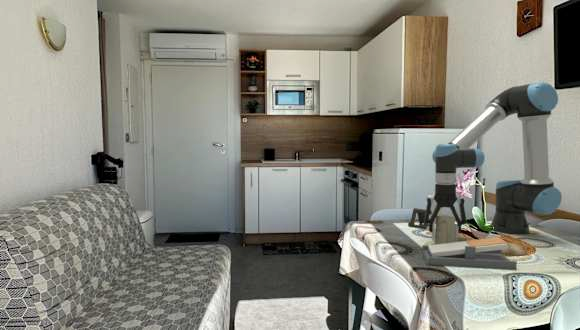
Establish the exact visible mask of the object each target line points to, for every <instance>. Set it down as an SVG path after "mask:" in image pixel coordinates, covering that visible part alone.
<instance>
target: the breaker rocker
mask: <svg viewBox="0 0 580 330" xmlns="http://www.w3.org/2000/svg"><path fill="white" fill-rule="evenodd" d="M507 243H508V242H506V241H505V240H504V239H503V238H501V237H500V236H495V237H488V238H480V239H471V240H467V241H462V242H456V241H454V242H453V243H445V244H437V245H435V244H430V245H428V244H427V245H428V249H429V251H430V253H431V255H432V257H441V256H449V255H458V254H465V246H475V247H476V251H475V253H476V252H485V251H494V250H503V249H508V244H507Z"/></svg>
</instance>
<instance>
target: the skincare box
mask: <svg viewBox="0 0 580 330" xmlns="http://www.w3.org/2000/svg"><path fill="white" fill-rule="evenodd" d="M455 224H456V220H455V217H454V216H451V215H447V214H445V215H444V214H443V215H437V216H436V223H435V241H434V245H437V244H445V243H453V242H455Z"/></svg>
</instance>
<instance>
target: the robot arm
mask: <svg viewBox="0 0 580 330" xmlns="http://www.w3.org/2000/svg"><path fill="white" fill-rule="evenodd" d="M558 102H559V94H558V92H557V90H556V88H555V87H554V86H553V85H552V84H550V83H548V82H545V81H544V82H532V83H528V84H523V85H518V86H517V85H516V86H515V85H514V86H512V87H510V88H507V89H505V90H503V91H501V93H499V94H497V95H496V96H495V97H494V98H493V99H492V100H490V101H489V102H488V103H487V104H486V105H485V109H483V111H482V112H481V113H480V114H478V115H477V116H476V117H475V118H474V119H473V120H472V121H471V122H470V123H469V124H467V126H465V128H463V129H462V130H461V131H460V132H459V133H458V134H457V135H456V136H455V137H453V138H452V139H451V140H450V141H449V142H448V143H447V144H445V143H442V144H441V143H439V144H437V145H436V146H435V149H434V151H433V153H432V161H433V162H434V163H435V169H434V170H435V175H434V176H435V177H434V179H435V183H436V184H435V185H434V195H435V196H434V197H432V198H429V197H428V196H427V197H426V209H425V210H426V213H425V218H424V221H425V222H426V223H428V224H429V226H428V231H429V233H431V241H432V242H435V226H436V223H435V222H434V220H435V218H436V216H437V214H438V212H439V210H440V209H441V207H446V208H449V209H450V211H451V213H452V215H453V217H455V232H454V242H457V237H459V234H461V233H462V226H463V225H466V224H467V217H466V210H465V205H464V204H465V199H464V198H463V197H458V196H457V185H456V183H457V169H460V168H461V169H462V168H463V169H465V168H466V169H467V168H474V169H475V168H479V167H481V166H483V164H484V162H485V153H484V151H483V150H482V149H480V148H473V147H472V146H474V144H475V143H476V142H478V141H479V140H480V139H481V138H482V137H484V135H485V134H486V133H487V132H489V131H490V130H491V129H492V128H493V127H494V126H496V124H497V123H498V122H500V121H504V120H505V119H506V118H507V117H509V116H511V115H515V114H517V116H516V117H517V119H518V120H519V121H521V127H522V128H521V129H522V151H523V153H522V154H523V171H524V172H523V173H524V178H523V179H518V180H499V181H498V182H496V187H495V212H494V216H493V218H492V221H491V223H490V226H491V225H493V227H494V230H493V231H496V232H499V233H504V234H511V235H512V234H513V235H514V234H516V235H521V234H522V235H523V234H524V235H525V234H529V233H530V226H529V223H528V219H527V217H526V212H529V213H534V214H537V215H538V214H539V215H545V216H547V215H551V214H553V213H554V212H556V211H557V209H558V208H559V207H560V205H561V203H562V199H563V198H562V197H563V196H562V193H561V191H560V189H558V188H557V187H555V185H554V184H555V182H554V180H553V179H552V178H551V177H550V168H549V143H548V141H549V140H548V122H547V121H548V119H549V118H550V117H551V116H552V110H554V109H555V108H556V107H557V105H558ZM471 147H472V148H471ZM433 200H435V201H436V203H437V205H436V207H435V210H434V212H433V214H432V216H431V218H430V210H431V203H433ZM456 202H457V204H458V206H459V213H460V217H459V215H458V213H457V211H456V208H455V206H454V204H455V203H456ZM460 218H461V219H460Z"/></svg>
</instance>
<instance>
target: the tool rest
mask: <svg viewBox="0 0 580 330" xmlns="http://www.w3.org/2000/svg"><path fill="white" fill-rule="evenodd" d="M506 243H507V244H508V249H503V250H502V254H503V255H504V256H525V255H527V251H528V249H527V247H525V245H524V246H523V245H522V244H521V245H520V244H517V243H511V242H506Z"/></svg>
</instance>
